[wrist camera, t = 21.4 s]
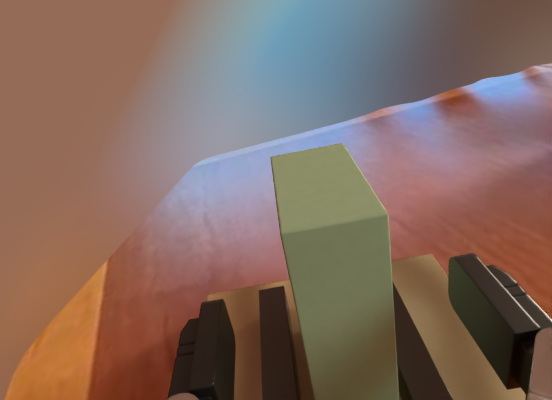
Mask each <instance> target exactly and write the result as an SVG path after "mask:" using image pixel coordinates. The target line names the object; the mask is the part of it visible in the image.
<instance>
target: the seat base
mask: <svg viewBox="0 0 552 400" xmlns="http://www.w3.org/2000/svg"><path fill="white" fill-rule="evenodd" d="M391 267H392V284H393V301H394V318H395V335H396V352H397V369H398V386H399V400H525V398H526V394H525V393H524V391H523V390H522V389H521V387H520V388H515V389H509V390H507V389H506V387H505V386H504V384H503V383H502V381H501V380H500V378H499V377H498V375H497V374H496V372H495V371H494V369H493V368H492V366H491V365H490V363H489V362H488V360H487V359H486V357H485V356H484V354H483V353H482V351H481V350H480V348H479V347H478V345H477V344H476V342H475V341H474V339H473V338H472V336H471V335H470V333H469V332H468V330H467V329H466V327H465V326H464V324H463V323H462V321H461V320H460V318H459V317H458V315H457V314H456V312H455V311H454V309H453V307H452V305H451V302H450V299H449V295H448V276H447V274H446V273H445V271H444V270H443V269H442V267H441V266H440V265H439V263H438V262H437V260H436V259H435V258H434V256H433V255H432V254H427V255H421V256H416V257H411V258H405V259H400V260H394V261H391ZM217 299H223V300H224V302H225V304H226V308H227V311H228V314H229V317H230V321H231V324H232V327H233V330H234V335H235V343H236V354H235V382H234V400H315V399H314V394H313V389H312V385H311V380H310V375H309V370H308V365H307V360H306V356H305V351H304V346H303V341H302V336H301V332H300V327H299V322H298V317H297V312H296V307H295V303H294V298H293V293H292V288H291V283H290V280H285V281H279V282H274V283H269V284H263V285H258V286H252V287H247V288H241V289H236V290H230V291H225V292H219V293H214V294H208V295H207V301H212V300H217Z"/></svg>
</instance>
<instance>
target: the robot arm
mask: <svg viewBox="0 0 552 400" xmlns="http://www.w3.org/2000/svg"><path fill="white" fill-rule="evenodd" d="M448 295H449V299H450V302H451V305H452V307H453V309H454V311H455V312H456V314H457V315H458V317H459V318H460V320H461V321H462V323H463V324H464V326H465V327H466V329H467V330H468V332H469V333H470V335H471V336H472V338H473V339H474V341H475V342H476V344H477V345H478V347H479V348H480V350H481V351H482V353H483V354H484V356H485V357H486V359H487V360H488V362H489V363H490V365H491V366H492V368H493V369H494V371H495V372H496V374H497V375H498V377H499V378H500V380H501V381H502V383H503V384H504V386H505V387H506V389H507V390H509V389H515V388H520V387H521V389H522V390H523V391H524V393H525V394H526V398H525V400H552V319H551V318H550V317H549V316H548V315H547V314H546V313H545V312H544V311H543V310H542V309H541V308H540V307H539V306H538V304H537V303H536V302H535V301H534V300H533V299H532V298H531V297H530V296H529V295H527V294H526V292H525V291H524V290H523V289H522V288H521V287H520V286H518V283H517V282H516V281H515V280H514V279H513V278H512V277H511V276H510V275H509V274H508V273H506V272H505V271H503V270H501V269H499V268H497V267H496V266H494V265H490V266H485V265H484V264H483V263H482V261H481V260H480V259H479V258H478V257H477V256H476V255H475V254H473V253H471V254H466V255H460V256H455V257H451V258H450V259H449V276H448ZM235 354H236V343H235V335H234V330H233V327H232V324H231V321H230V317H229V314H228V311H227V308H226V304H225V302H224V300H223V299H217V300H212V301H206V302H202V304H201V309H200V315H199V318H196V319H191V320H189V321H188V322H187V324H186V325H185V327H184V328H183V330H182V331H181V335H180V340H179V347H178V350H177V358H176V360H175V365H174V370H173V375H172V380H171V385H170V390H169V395H168V398H167V400H234V382H235Z"/></svg>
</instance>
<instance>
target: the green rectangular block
mask: <svg viewBox="0 0 552 400" xmlns="http://www.w3.org/2000/svg"><path fill="white" fill-rule="evenodd" d="M271 165H272V173H273V181H274V188H275V196H276V204H277V212H278V220H279V228H280V235H281V240H282V245H283V249H284V254H285V259H286V264H287V269H288V274H289V278H290V283H291V288H292V293H293V298H294V303H295V307H296V312H297V317H298V322H299V327H300V332H301V336H302V341H303V346H304V351H305V356H306V360H307V365H308V370H309V375H310V380H311V385H312V389H313V394H314V399H315V400H399V386H398V369H397V352H396V335H395V318H394V301H393V284H392V267H391V250H390V233H389V215H388V213H387V211H386V210H385V208H384V207H383V205H382V203H381V202H380V200H379V199H378V197H377V196H376V194H375V193H374V191H373V189H372V188H371V186H370V185H369V183H368V182H367V180H366V179H365V177H364V175H363V174H362V172H361V171H360V169H359V168H358V166H357V165H356V163H355V161H354V160H353V158H352V157H351V155H350V154H349V152H348V151H347V149H346V147H345V146H344V144H343V143H340V144H335V145H330V146H325V147H320V148H314V149H309V150H304V151H299V152H293V153H288V154H283V155H278V156H273V157H271Z"/></svg>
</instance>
